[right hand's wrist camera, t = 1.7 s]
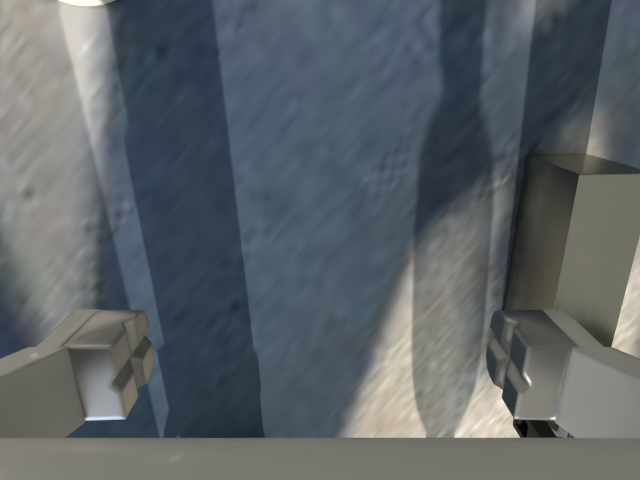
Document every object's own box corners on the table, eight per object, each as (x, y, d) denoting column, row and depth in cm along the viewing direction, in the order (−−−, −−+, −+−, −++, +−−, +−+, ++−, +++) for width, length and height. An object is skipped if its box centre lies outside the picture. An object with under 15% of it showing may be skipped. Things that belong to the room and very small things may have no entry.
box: (526, 154, 42) (579, 174, 33) (586, 153, 42) (655, 173, 33) (496, 354, 49) (533, 412, 41) (547, 354, 49) (595, 411, 41)
